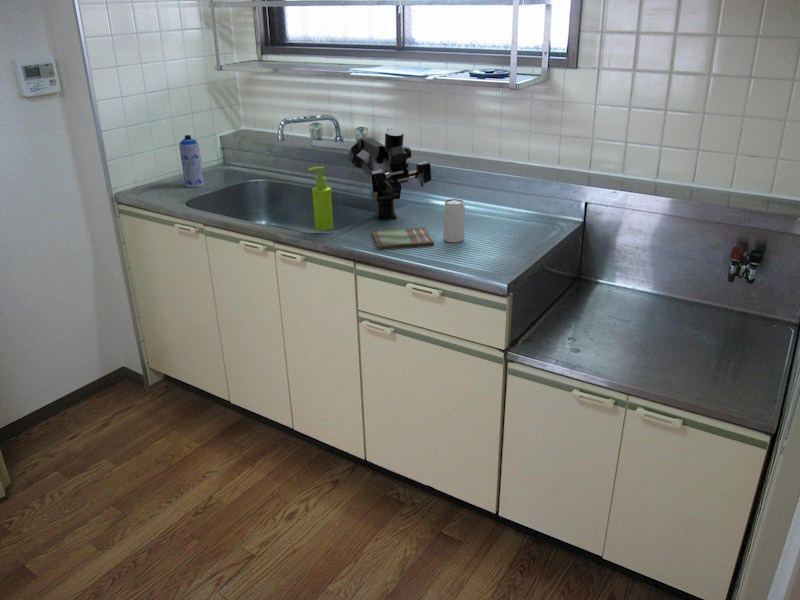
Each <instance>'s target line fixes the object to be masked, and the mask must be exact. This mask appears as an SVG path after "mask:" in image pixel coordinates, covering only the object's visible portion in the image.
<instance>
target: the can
mask: <svg viewBox="0 0 800 600" xmlns="http://www.w3.org/2000/svg"><path fill="white" fill-rule="evenodd" d="M464 202H465V201H464V200H462V199H457V198H453V199H451V198H449V199H446V200H445V201H444V205H443V213H442V214H443V215H442V216H443V217H442V218H443V222H442V223H443V224H442V225H443V228H442V229H443V230H442V231H443V232H442V233H443V235H442V238H443V240H444V241H445V242H446V243H452V244H454V243H456V244H457V243H462V242H463V241H464V240H465V227H466V226H465V225H466V206H465V204H464Z"/></svg>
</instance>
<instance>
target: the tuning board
mask: <svg viewBox="0 0 800 600" xmlns="http://www.w3.org/2000/svg"><path fill="white" fill-rule="evenodd" d="M371 235H372V238H373V241H374V243H375V246H376V249H377V248H378V249H379V250H390V249H391V250H392V248H393V249H403V248H405V249H406V248H419V247H431V246H435V242H434V240H433V237H431V235H430V233H429V231H428V230H427V228H426V227H425V226H423V227H421V226H419V227H407V228H405V227H404V228H392V229H391V228H390V229H377V230H371ZM378 249H377V250H378Z"/></svg>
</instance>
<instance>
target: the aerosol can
mask: <svg viewBox="0 0 800 600" xmlns="http://www.w3.org/2000/svg"><path fill="white" fill-rule="evenodd" d="M191 136H192V135H191V134H186V135H184V138H183V139H182V140H180V142H179V144H178V145H179V146H178V147H179V153H180V160H181V166H182V168H181V169H182V174H183V175H182V176H183V180H184V186H185V185H186V186H190V187H198V188H200V187H199V186H202V187H204V186H205V185H204V184H205V179H204V174H203V173H204V172H203V165H202V159H201V151H200V146H199V142H198V141H197V140H196V139H194V138H192V137H191ZM203 185H204V186H203Z"/></svg>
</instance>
